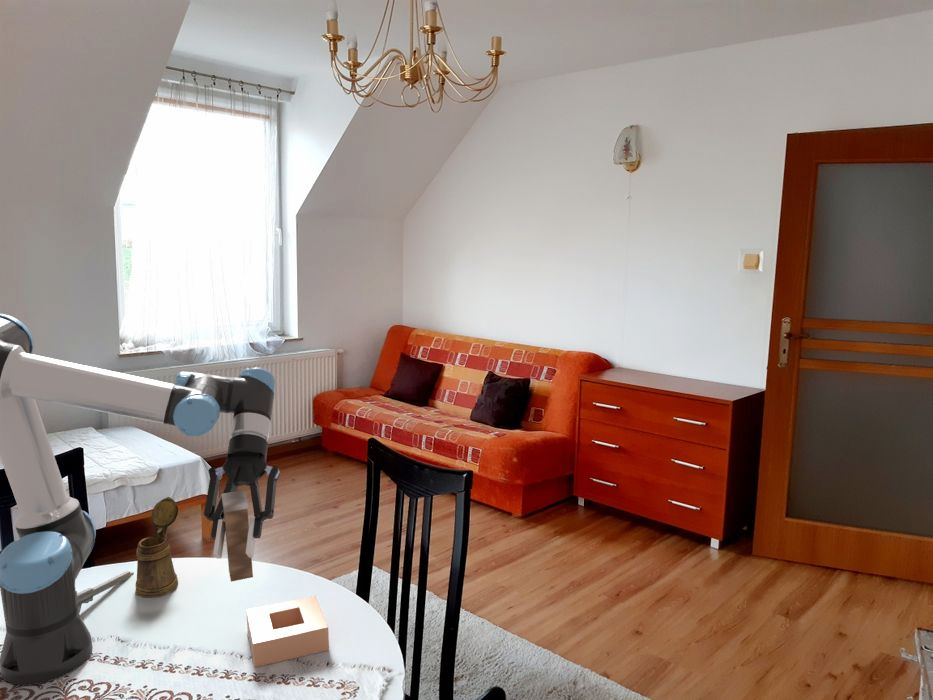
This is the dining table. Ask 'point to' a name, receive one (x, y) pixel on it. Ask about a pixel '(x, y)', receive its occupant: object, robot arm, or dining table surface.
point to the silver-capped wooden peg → (237, 534)
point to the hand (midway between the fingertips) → (233, 555)
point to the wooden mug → (157, 554)
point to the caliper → (99, 589)
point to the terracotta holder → (287, 630)
